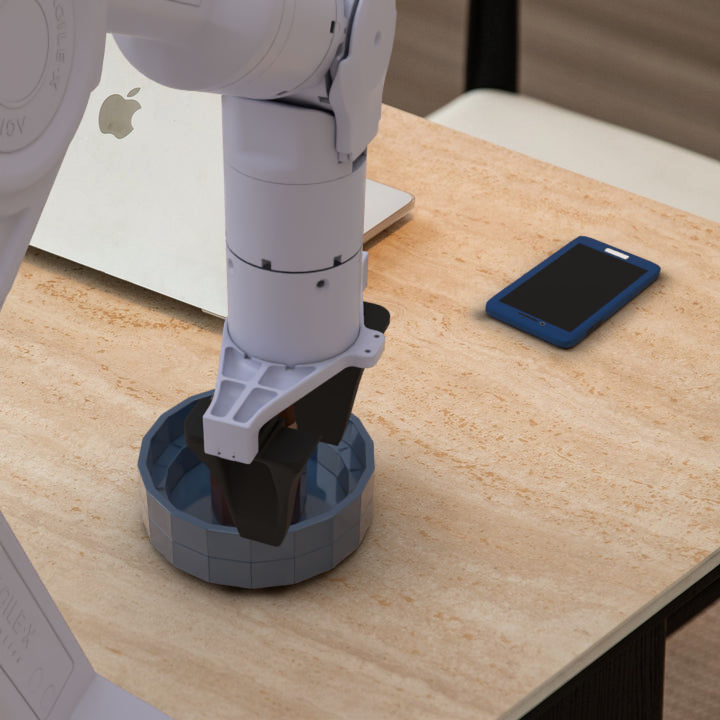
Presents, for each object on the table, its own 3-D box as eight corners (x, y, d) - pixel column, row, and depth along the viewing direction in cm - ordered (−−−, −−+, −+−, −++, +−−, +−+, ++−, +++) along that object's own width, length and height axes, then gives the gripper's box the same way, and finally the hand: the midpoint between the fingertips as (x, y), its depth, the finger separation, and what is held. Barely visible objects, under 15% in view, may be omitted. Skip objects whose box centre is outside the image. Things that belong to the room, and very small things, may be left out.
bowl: (296, 631, 64) (297, 569, 62) (95, 538, 69) (88, 477, 67) (411, 488, 74) (416, 429, 71) (226, 416, 79) (225, 358, 76)
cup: (274, 550, 68) (273, 452, 64) (191, 514, 70) (186, 417, 66) (324, 494, 72) (326, 398, 68) (244, 462, 74) (242, 367, 70)
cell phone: (663, 274, 94) (665, 265, 94) (567, 352, 86) (568, 343, 85) (580, 241, 98) (581, 232, 98) (479, 312, 89) (480, 304, 89)
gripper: (323, 352, 45) (317, 613, 53) (436, 180, 56) (417, 416, 64) (147, 311, 47) (167, 569, 55) (291, 153, 58) (290, 386, 66)
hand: (293, 485), depth 59 cm, fingers open, 7 cm apart
